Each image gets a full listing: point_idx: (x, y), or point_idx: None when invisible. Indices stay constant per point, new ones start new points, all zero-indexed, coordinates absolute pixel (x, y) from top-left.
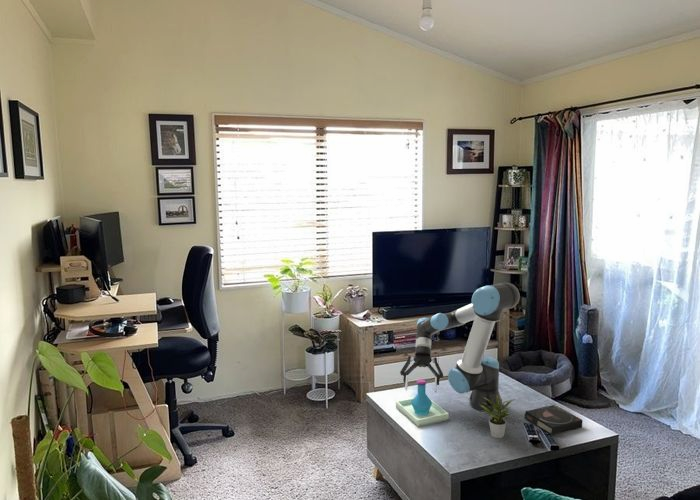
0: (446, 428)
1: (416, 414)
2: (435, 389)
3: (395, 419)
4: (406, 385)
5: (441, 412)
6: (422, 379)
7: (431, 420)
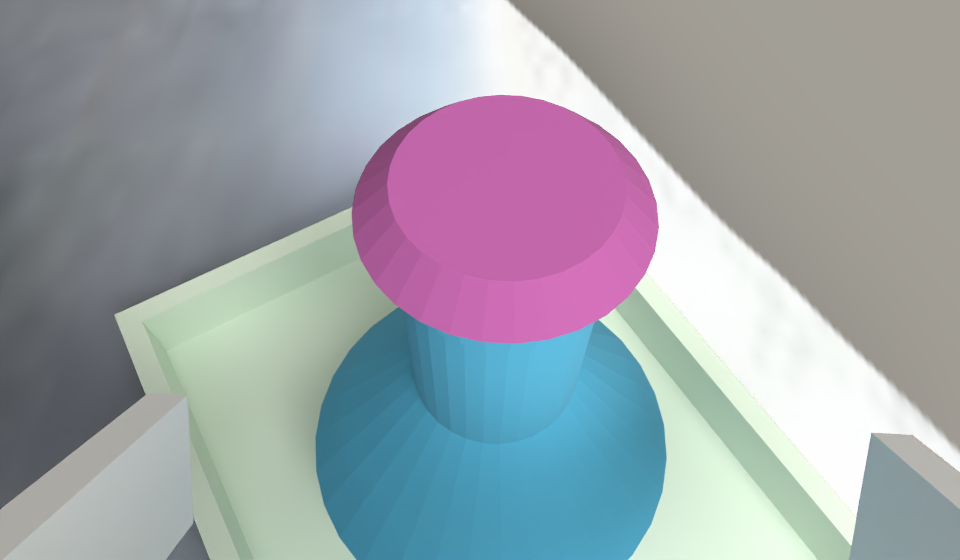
0: (223, 181)
1: None
2: (158, 398)
3: (787, 297)
4: (922, 468)
5: (204, 448)
6: (479, 270)
7: None
